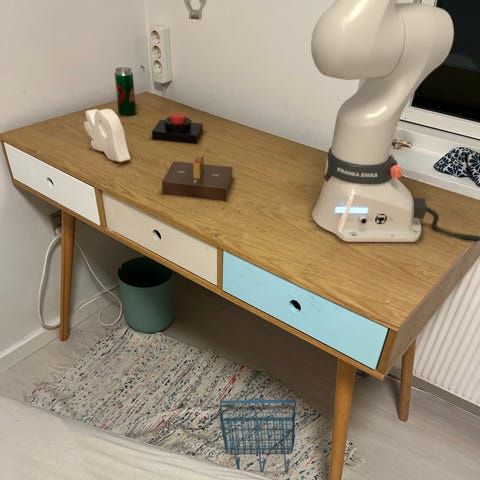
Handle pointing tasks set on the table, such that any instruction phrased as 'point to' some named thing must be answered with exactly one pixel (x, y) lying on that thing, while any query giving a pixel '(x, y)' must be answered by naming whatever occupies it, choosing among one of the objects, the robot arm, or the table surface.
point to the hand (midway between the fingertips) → (195, 18)
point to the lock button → (177, 118)
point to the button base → (177, 131)
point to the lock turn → (198, 166)
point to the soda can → (125, 91)
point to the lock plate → (197, 181)
